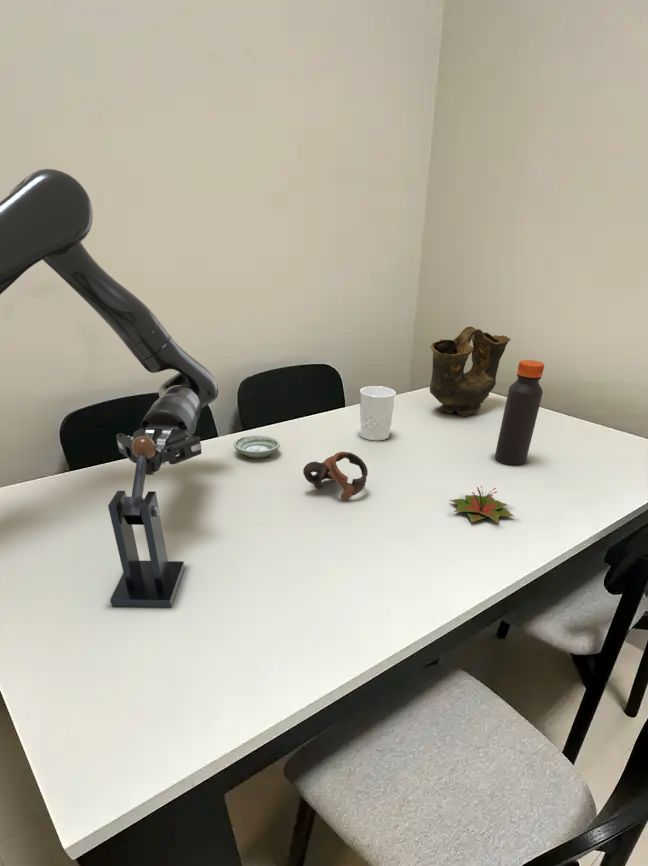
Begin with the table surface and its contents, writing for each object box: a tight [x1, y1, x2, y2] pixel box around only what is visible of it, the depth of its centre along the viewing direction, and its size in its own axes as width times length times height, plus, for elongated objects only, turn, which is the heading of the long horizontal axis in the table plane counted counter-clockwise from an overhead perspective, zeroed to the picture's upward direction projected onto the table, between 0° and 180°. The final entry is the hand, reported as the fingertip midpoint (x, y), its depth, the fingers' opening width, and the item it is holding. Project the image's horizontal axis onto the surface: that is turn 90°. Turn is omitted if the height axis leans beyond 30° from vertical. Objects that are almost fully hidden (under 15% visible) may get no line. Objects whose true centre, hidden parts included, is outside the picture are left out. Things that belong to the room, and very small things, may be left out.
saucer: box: [233, 434, 281, 459], centre depth 123 cm, size 10×10×2 cm
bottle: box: [494, 359, 545, 466], centre depth 121 cm, size 7×7×20 cm
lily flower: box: [449, 485, 516, 524], centre depth 106 cm, size 12×12×5 cm
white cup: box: [359, 385, 397, 441], centre depth 132 cm, size 8×8×10 cm
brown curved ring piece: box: [302, 451, 369, 501], centre depth 109 cm, size 12×10×8 cm
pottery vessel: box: [429, 326, 511, 417], centre depth 147 cm, size 25×11×20 cm, turn 132°
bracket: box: [107, 490, 186, 608], centre depth 79 cm, size 10×8×14 cm
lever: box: [122, 436, 156, 526], centre depth 78 cm, size 13×3×3 cm
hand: (145, 468), depth 81 cm, fingers closed
